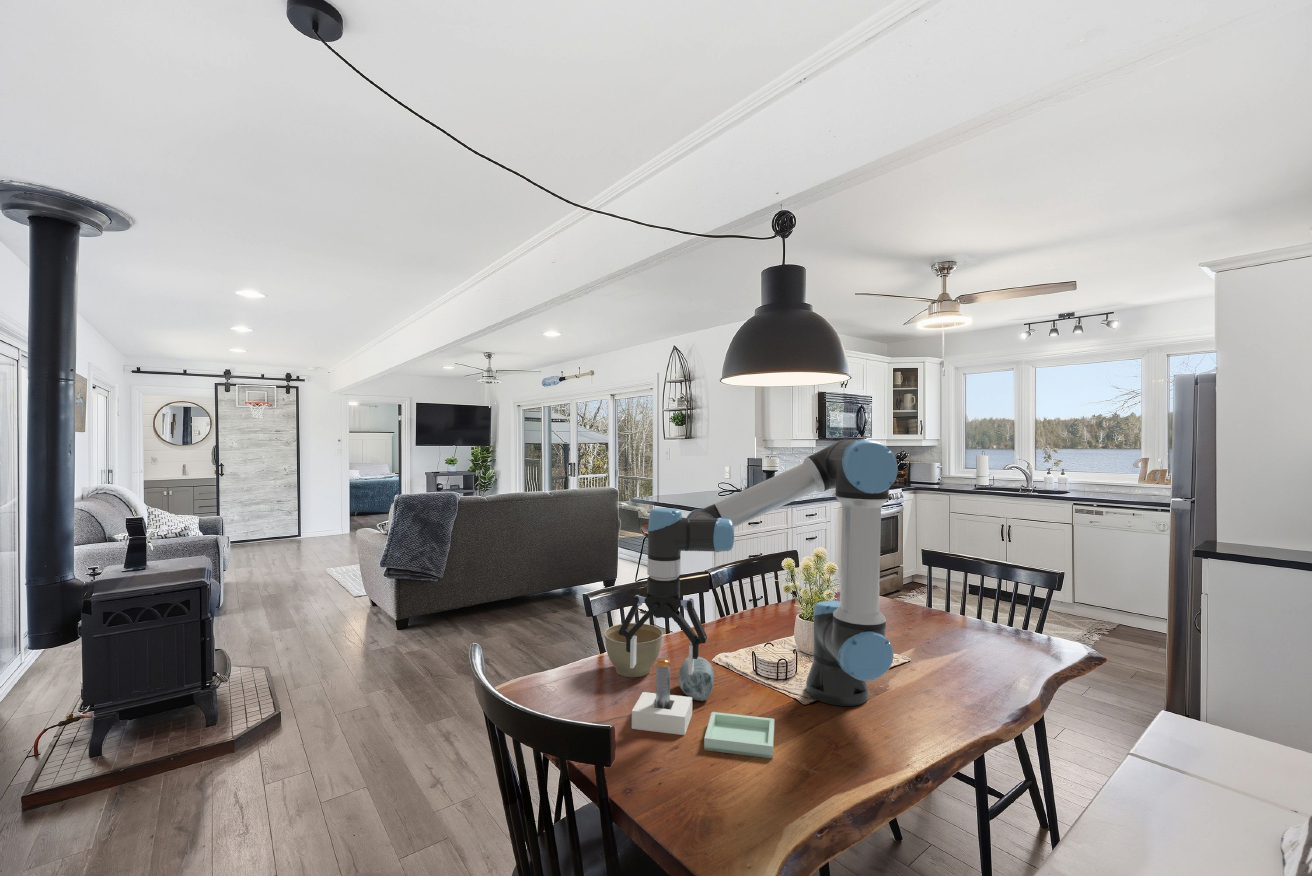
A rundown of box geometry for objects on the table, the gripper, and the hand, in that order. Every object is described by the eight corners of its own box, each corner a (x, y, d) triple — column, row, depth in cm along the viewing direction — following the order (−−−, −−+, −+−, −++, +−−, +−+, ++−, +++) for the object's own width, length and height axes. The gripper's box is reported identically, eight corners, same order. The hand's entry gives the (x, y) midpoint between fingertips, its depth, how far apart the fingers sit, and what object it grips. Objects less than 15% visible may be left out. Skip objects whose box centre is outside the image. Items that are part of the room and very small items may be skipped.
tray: (774, 730, 132) (774, 718, 132) (772, 758, 120) (772, 746, 120) (711, 722, 135) (711, 711, 135) (704, 750, 123) (704, 738, 123)
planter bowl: (593, 677, 159) (593, 637, 159) (619, 657, 174) (619, 620, 174) (648, 687, 153) (649, 646, 153) (670, 665, 168) (671, 627, 168)
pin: (670, 718, 137) (671, 658, 137) (668, 725, 133) (668, 663, 133) (657, 717, 137) (657, 657, 137) (654, 723, 134) (654, 662, 134)
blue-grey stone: (722, 693, 143) (703, 653, 146) (686, 710, 143) (668, 670, 146) (722, 683, 156) (705, 647, 159) (690, 700, 156) (673, 663, 159)
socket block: (692, 714, 139) (692, 697, 139) (684, 735, 129) (684, 717, 129) (642, 708, 142) (642, 691, 142) (631, 728, 132) (631, 710, 132)
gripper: (720, 576, 136) (718, 668, 136) (616, 569, 142) (614, 657, 142) (716, 584, 129) (714, 682, 129) (606, 576, 134) (604, 669, 134)
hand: (661, 669), depth 135 cm, fingers open, 13 cm apart
